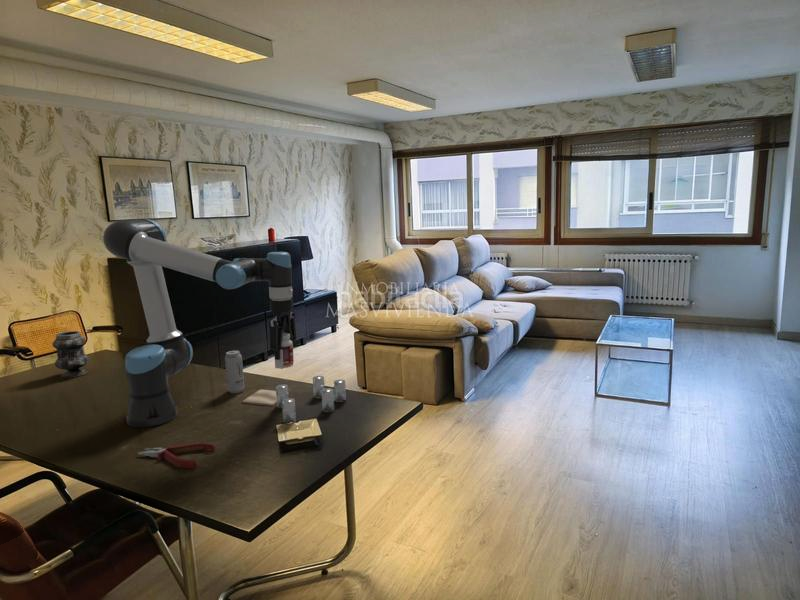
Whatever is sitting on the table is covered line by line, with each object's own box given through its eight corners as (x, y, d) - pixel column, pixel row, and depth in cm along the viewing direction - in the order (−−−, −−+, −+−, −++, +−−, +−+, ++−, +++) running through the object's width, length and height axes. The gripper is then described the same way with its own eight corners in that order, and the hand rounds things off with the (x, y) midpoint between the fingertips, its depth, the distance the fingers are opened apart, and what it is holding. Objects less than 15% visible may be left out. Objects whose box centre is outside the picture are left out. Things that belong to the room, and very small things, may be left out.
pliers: (154, 445, 152) (153, 437, 151) (217, 450, 148) (216, 442, 147) (127, 465, 141) (126, 456, 140) (194, 471, 137) (193, 462, 136)
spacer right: (331, 413, 171) (330, 393, 169) (320, 412, 172) (319, 392, 170) (336, 408, 174) (335, 388, 173) (325, 407, 176) (324, 387, 174)
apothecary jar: (96, 369, 224) (90, 328, 221) (81, 378, 212) (74, 336, 209) (67, 370, 223) (60, 330, 220) (50, 379, 212) (43, 337, 208)
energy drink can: (240, 394, 190) (236, 354, 187) (224, 393, 191) (221, 354, 188) (247, 388, 196) (244, 350, 193) (232, 387, 197) (229, 349, 194)
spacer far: (322, 398, 183) (321, 379, 182) (311, 397, 185) (310, 379, 183) (326, 394, 187) (325, 376, 186) (316, 393, 188) (315, 375, 187)
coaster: (272, 406, 178) (272, 404, 178) (242, 403, 181) (241, 401, 181) (289, 393, 189) (289, 391, 189) (260, 390, 193) (260, 389, 193)
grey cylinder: (343, 403, 179) (342, 383, 178) (332, 402, 180) (331, 382, 179) (347, 398, 183) (347, 379, 181) (337, 397, 184) (336, 379, 183)
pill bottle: (294, 367, 175) (293, 336, 173) (276, 369, 173) (274, 337, 171) (292, 362, 181) (290, 331, 179) (274, 364, 179) (272, 333, 177)
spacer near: (292, 424, 163) (290, 403, 161) (281, 423, 164) (279, 402, 163) (298, 419, 167) (297, 398, 165) (287, 418, 168) (285, 397, 166)
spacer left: (285, 408, 176) (284, 389, 174) (274, 407, 177) (273, 388, 175) (291, 404, 179) (289, 384, 178) (280, 403, 180) (279, 384, 179)
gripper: (276, 304, 162) (279, 375, 167) (304, 294, 180) (307, 357, 185) (255, 303, 164) (259, 372, 169) (285, 293, 182) (288, 356, 187)
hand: (284, 364), depth 177 cm, fingers closed on pill bottle, 6 cm apart
